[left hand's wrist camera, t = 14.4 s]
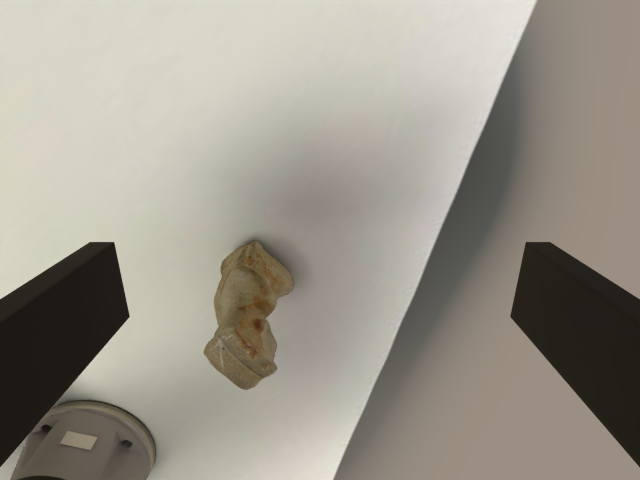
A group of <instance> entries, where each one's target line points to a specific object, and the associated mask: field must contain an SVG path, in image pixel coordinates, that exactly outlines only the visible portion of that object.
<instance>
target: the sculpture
mask: <svg viewBox="0 0 640 480" xmlns="http://www.w3.org/2000/svg"><path fill="white" fill-rule="evenodd" d="M221 274H222V279H221V281H220V283H219V286H218V289H217V292H216V295H215V298H214V307H215V312H216V317H217V321H218V325H219V327H218V329H217V331H216V333H215V335H214V338H213V339H212V340H211V341H210V342H208V344H207V345H206V347H205V349H204V355H206V357H207V358H208V360H209V362H210V363H211V364H212V365H213V366H214V367H215V368H216V369H217V370H218V371H219V372H220V373H222V374H223V375H224V376H226V377H227V378H228V379H229V380H230V381H232V382H233V383H234V384H235V385H236V386H238V387H240V388H242V389H245V390H248V389H250V388H252V387H255V386H256V385H257V384H258V383H259V382H260V380H262V379H263V378H265V377H267V376H269V375H271V374H273V373H274V372H275V371H276V370H277V366H276V365H275V363H274V362H273V361H274V356H275V351H276V348H277V344H276V341H275V339H274V336H273V334H272V333H271V329H270V325H269V322H268V321H267V320H265V319H266V317H267V316H268V315H269V314H270V313H272V311H273V310H274V309H275V307H276V304H277V298H278V297H281V296H284V295H287V294H288V293H290V292H291V291H292V289H293V286H294V282H293V278H292V276H291V274H290V273H289V272H288V270H287V269H286V268H285V267H284V266H282V265H281V264H280V263H279V262H278V261H277V260H275V259H274V258H273V257H271V256H270V255H269V254H268V253H267V252H266V251H265V250H264V249H263V247H262V245H261V244H260V243H258V242H256V241H254V242H252V243H250V244H248V245H244V246H242V247H240V248H239V249H237V250H236V251H234V252H233V253H231V254H230V255H229V256H228V257H227V258H226V259H224V261H223V262H222V266H221Z"/></svg>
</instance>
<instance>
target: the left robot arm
mask: <svg viewBox="0 0 640 480" xmlns="http://www.w3.org/2000/svg"><path fill="white" fill-rule="evenodd" d="M129 317H130V316H129V311H128V307H127V302H126V297H125V292H124V287H123V283H122V278H121V273H120V268H119V263H118V259H117V254H116V249H115V244H114V242H90V243H88V244H86V245H85V246H83V247H82V248H80V249H79V250H77V251H75V252H74V253H72V254H71V255H69V256H68V257H66V258H64V259H63V260H61V261H60V262H58V263H57V264H55V265H54V266H52V267H50V268H49V269H47V270H46V271H44V272H43V273H41V274H39V275H38V276H36V277H35V278H33V279H32V280H30V281H28V282H27V283H25V284H24V285H22V286H21V287H19V288H18V289H16V290H14V291H13V292H11V293H10V294H8V295H7V296H5V297H3V298H2V299H0V467H1V466H2V465H3V463H4V462H5V461H6V460H7V459H8V458H9V456H10V455H11V454H12V453H13V452H14V451H15V449H16V448H17V447H18V446H19V445H20V444H21V442H22V441H23V440H24V439H25V438H26V437H27V435H28V434H29V433H30V432H31V433H30V435H29V437H28V439H27V441H26V443H25V446H24V448H23V450H22V453H21V455H20V458H19V460H18V462H17V465H16V467H15V470H14V472H13V474H12V477H11V479H10V480H146V479H147V477H148V475H149V472H150V470H151V468H152V466H153V463H154V460H155V446H154V442H153V440H152V438H151V436H150V434H149V432H148V431H147V430H146V428H145V427H144V426H143V425H142V424H141V423H140V422H139V421H138V420H137V419H135V418H134V417H133V416H131V415H130V414H128V413H126V412H125V411H123V410H121V409H118V408H116V407H113V406H111V405H107V404H104V403H99V402H92V401H75V402H69V403H65V404H62V405H59V406H57V407H55V408H53V409H51V408H52V406H53V405H54V404H55V403H56V402H57V401H58V399H59V398H60V397H61V396H62V395H63V394H64V392H65V391H66V390H67V389H68V388H69V387H70V385H71V384H72V383H73V382H74V381H75V380H76V378H77V377H78V376H79V375H80V374H81V373H82V372H83V370H84V369H85V368H86V367H87V366H88V365H89V363H90V362H91V361H92V360H93V359H94V358H95V356H96V355H97V354H98V353H99V352H100V351H101V349H102V348H103V347H104V346H105V345H106V344H107V342H108V341H109V340H110V339H111V338H112V337H113V335H114V334H115V333H116V332H117V331H118V330H119V328H120V327H121V326H122V325H123V324H124V323H125V322H126V320H127V319H128V318H129ZM511 318H512V319H513V320H514V322H515V323H516V324H517V325H518V326H519V327H520V328H521V330H522V331H523V332H524V333H525V334H526V335H527V337H528V338H529V339H530V340H531V341H532V342H533V344H534V345H535V346H536V347H537V348H538V349H539V351H540V352H541V353H542V354H543V355H544V356H545V358H546V359H547V360H548V361H549V362H550V363H551V365H552V366H553V367H554V368H555V369H556V370H557V371H558V373H559V374H560V375H561V376H562V377H563V378H564V380H565V381H566V382H567V383H568V384H569V385H570V387H571V388H572V389H573V390H574V391H575V392H576V394H577V395H578V396H579V397H580V398H581V399H582V401H583V402H584V403H585V404H586V405H587V406H588V408H589V409H590V410H591V411H592V412H593V413H594V415H595V416H596V417H597V418H598V419H599V420H600V422H601V423H602V424H603V425H604V426H605V427H606V428H607V430H608V431H609V432H610V433H611V434H612V435H613V437H614V438H615V439H616V440H617V441H618V442H619V444H620V445H621V446H622V447H623V448H624V449H625V451H626V452H627V453H628V454H629V455H630V456H631V458H632V459H633V460H634V461H635V462H636V463H637V465H638V466H639V467H640V299H638V298H637V297H635V296H633V295H632V294H630V293H629V292H627V291H626V290H624V289H622V288H621V287H619V286H618V285H616V284H615V283H613V282H612V281H610V280H608V279H607V278H605V277H604V276H602V275H601V274H599V273H597V272H596V271H594V270H593V269H591V268H590V267H588V266H586V265H585V264H583V263H582V262H580V261H579V260H577V259H576V258H574V257H572V256H571V255H569V254H568V253H566V252H565V251H563V250H561V249H560V248H558V247H557V246H555V245H554V244H552V243H550V242H526V244H525V249H524V254H523V259H522V263H521V268H520V273H519V278H518V283H517V288H516V292H515V297H514V302H513V307H512V311H511ZM50 409H51V410H50ZM49 410H50V411H49Z"/></svg>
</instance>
